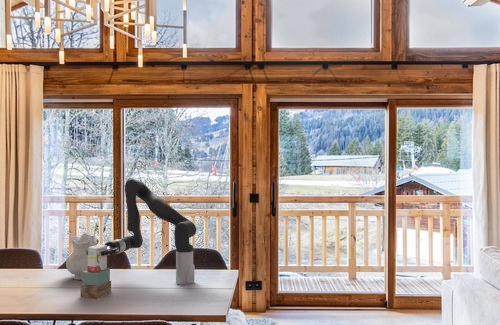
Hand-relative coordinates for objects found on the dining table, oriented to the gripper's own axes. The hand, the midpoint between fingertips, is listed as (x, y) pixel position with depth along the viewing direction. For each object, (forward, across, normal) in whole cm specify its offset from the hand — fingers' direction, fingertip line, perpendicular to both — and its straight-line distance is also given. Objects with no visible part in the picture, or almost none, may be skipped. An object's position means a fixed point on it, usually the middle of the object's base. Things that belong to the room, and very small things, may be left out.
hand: (94, 253), depth 192 cm
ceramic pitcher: (-25, -26, +21) cm, 42 cm away
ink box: (-2, 0, +9) cm, 9 cm away
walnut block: (-2, 0, +21) cm, 21 cm away
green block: (-2, 0, +15) cm, 15 cm away
